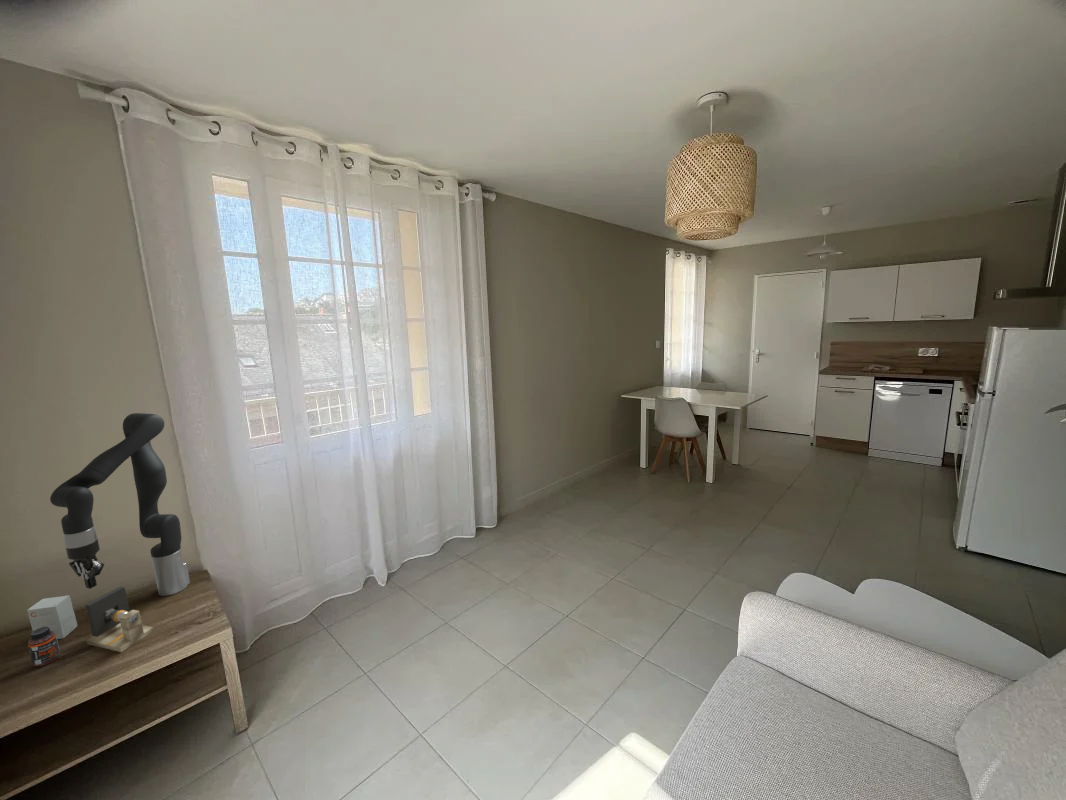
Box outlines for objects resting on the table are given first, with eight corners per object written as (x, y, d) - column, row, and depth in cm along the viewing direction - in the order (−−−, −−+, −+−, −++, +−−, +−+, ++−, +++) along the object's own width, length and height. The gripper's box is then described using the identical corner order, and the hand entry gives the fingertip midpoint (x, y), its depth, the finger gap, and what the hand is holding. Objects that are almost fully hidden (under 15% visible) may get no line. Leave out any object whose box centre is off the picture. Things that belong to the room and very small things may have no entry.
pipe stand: (120, 623, 152) (114, 597, 150) (153, 630, 149) (148, 604, 147) (86, 644, 143) (80, 616, 141) (121, 652, 139) (115, 624, 137)
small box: (78, 626, 151) (70, 594, 149) (63, 638, 145) (55, 606, 143) (50, 629, 149) (42, 598, 147) (34, 643, 143) (25, 610, 141)
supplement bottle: (41, 669, 133) (33, 638, 130) (28, 666, 134) (19, 636, 132) (65, 654, 138) (58, 625, 136) (52, 651, 139) (44, 622, 137)
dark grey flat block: (126, 615, 151) (120, 586, 148) (130, 616, 150) (124, 587, 148) (92, 636, 141) (85, 604, 139) (97, 636, 141) (89, 605, 138)
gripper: (109, 538, 143) (118, 583, 146) (81, 534, 146) (90, 578, 149) (81, 549, 136) (92, 596, 139) (53, 545, 139) (63, 591, 142)
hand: (91, 586), depth 144 cm, fingers closed
